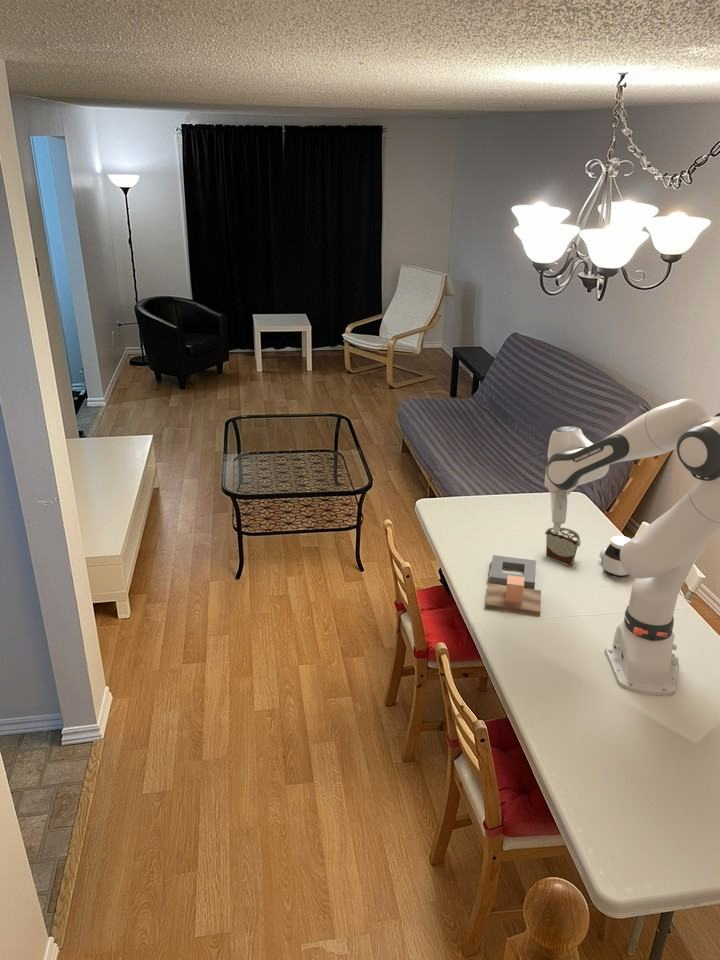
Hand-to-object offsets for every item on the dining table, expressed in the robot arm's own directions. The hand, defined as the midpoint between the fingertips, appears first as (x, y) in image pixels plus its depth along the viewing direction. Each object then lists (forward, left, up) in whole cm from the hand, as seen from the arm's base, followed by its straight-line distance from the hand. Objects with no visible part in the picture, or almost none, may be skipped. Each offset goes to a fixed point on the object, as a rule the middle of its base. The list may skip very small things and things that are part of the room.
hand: (555, 523), depth 216 cm
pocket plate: (+11, +11, -25) cm, 29 cm away
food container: (+26, -5, -26) cm, 37 cm away
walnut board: (-5, +10, -25) cm, 28 cm away
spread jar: (+23, -21, -26) cm, 41 cm away
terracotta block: (-5, +10, -24) cm, 26 cm away
